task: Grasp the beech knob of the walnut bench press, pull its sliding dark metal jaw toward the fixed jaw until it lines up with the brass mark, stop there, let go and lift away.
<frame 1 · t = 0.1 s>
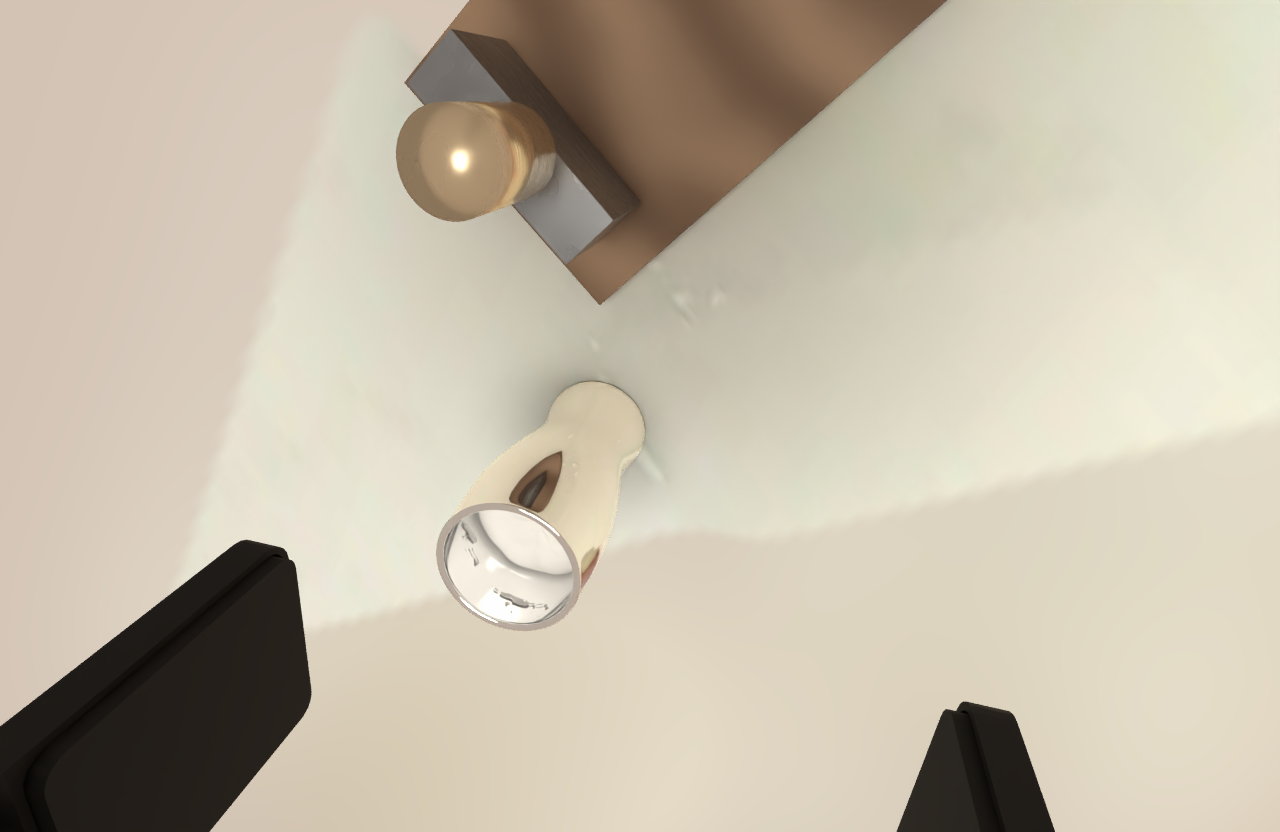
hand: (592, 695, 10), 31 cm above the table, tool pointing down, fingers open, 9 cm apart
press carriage: (510, 152, 30), point 8 cm above the table, slide at 0.0 cm
beer glass: (598, 425, 44), on the table
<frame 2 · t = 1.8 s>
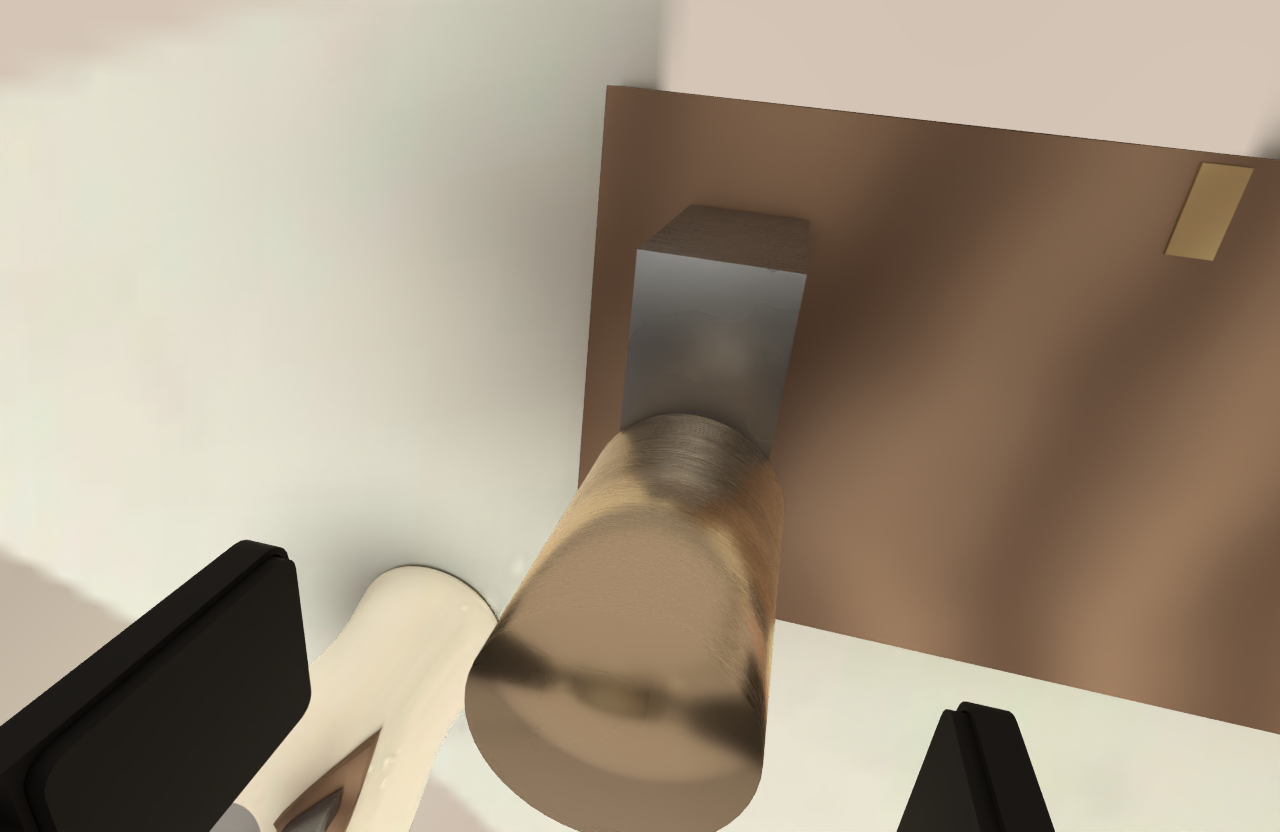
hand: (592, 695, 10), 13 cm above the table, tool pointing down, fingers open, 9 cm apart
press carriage: (684, 503, 15), point 8 cm above the table, slide at 0.0 cm
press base: (1081, 434, 20), on the table
beer glass: (436, 623, 29), on the table
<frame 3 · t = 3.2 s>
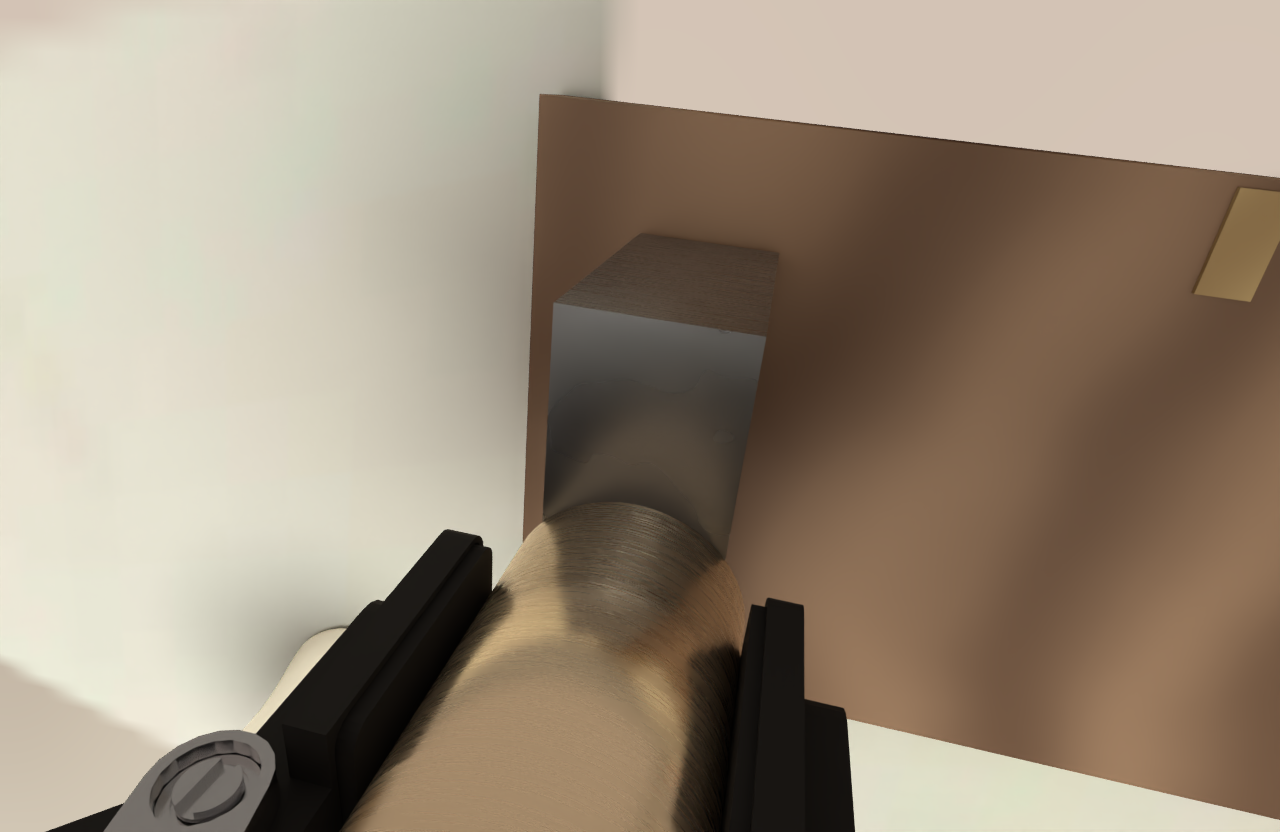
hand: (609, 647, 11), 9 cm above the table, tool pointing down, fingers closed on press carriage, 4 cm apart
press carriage: (624, 606, 12), point 8 cm above the table, slide at 0.0 cm, touching gripper
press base: (1091, 491, 17), on the table
beer glass: (375, 689, 26), on the table
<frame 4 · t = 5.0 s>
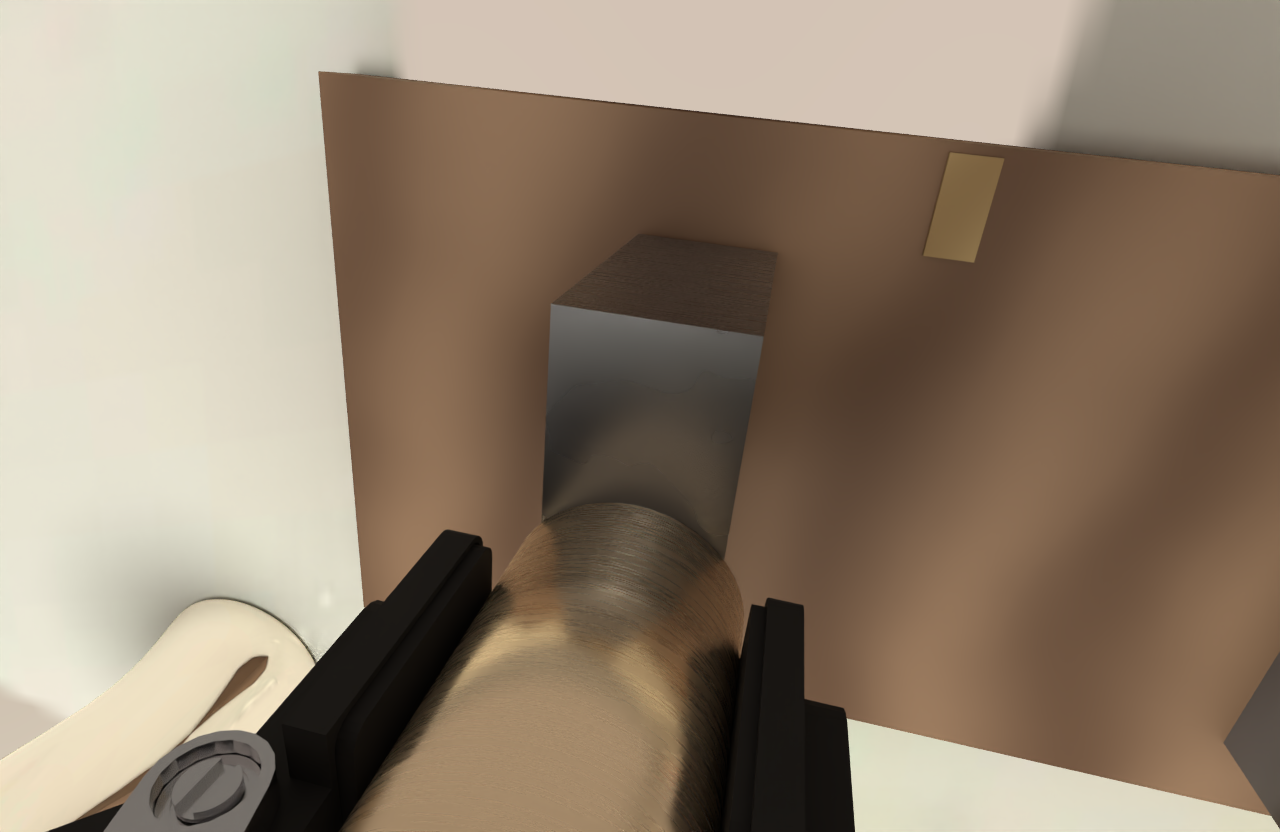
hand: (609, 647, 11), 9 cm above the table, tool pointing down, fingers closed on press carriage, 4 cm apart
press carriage: (623, 606, 12), point 8 cm above the table, slide at 5.1 cm, touching gripper
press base: (879, 453, 18), on the table
beer glass: (252, 659, 27), on the table
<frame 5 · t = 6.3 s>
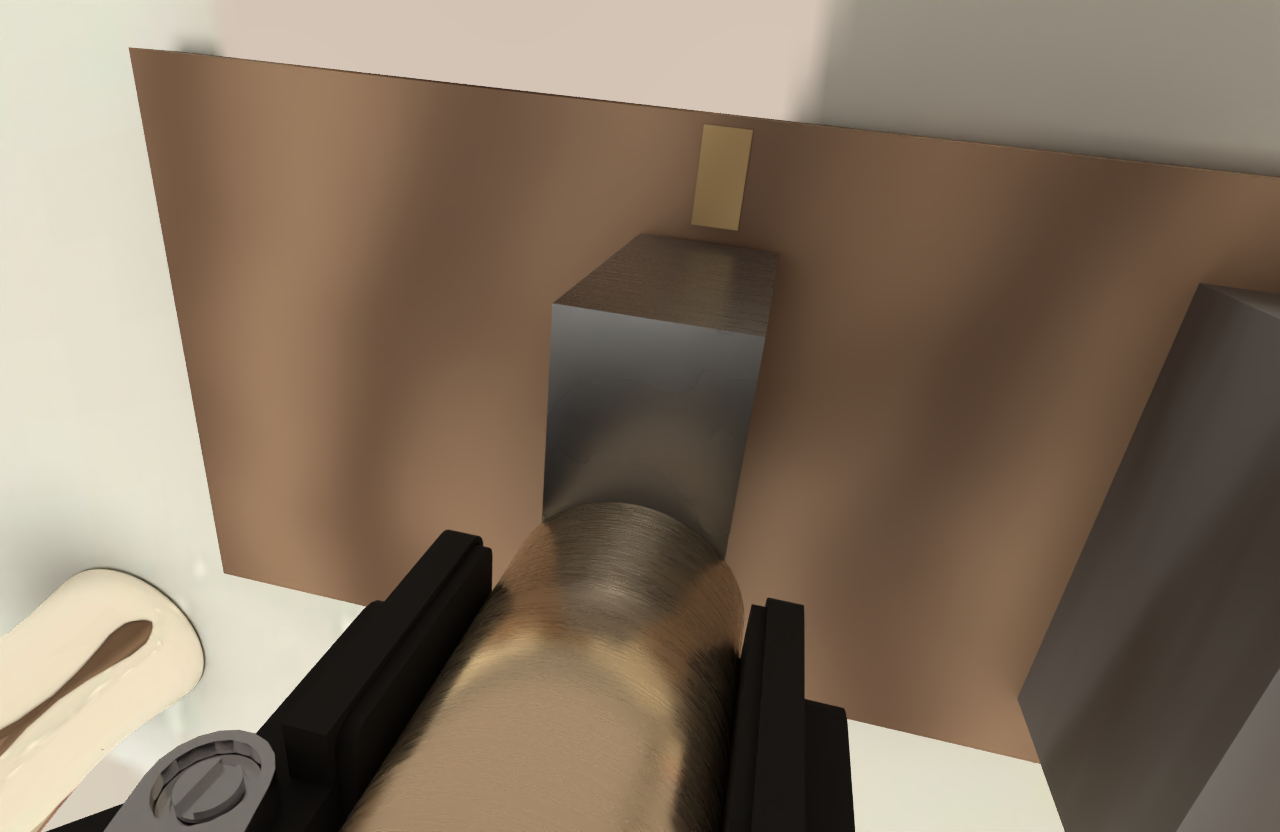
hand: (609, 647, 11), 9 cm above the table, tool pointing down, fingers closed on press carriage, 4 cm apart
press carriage: (624, 606, 12), point 8 cm above the table, slide at 9.9 cm, touching gripper
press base: (692, 420, 19), on the table
beer glass: (139, 629, 27), on the table
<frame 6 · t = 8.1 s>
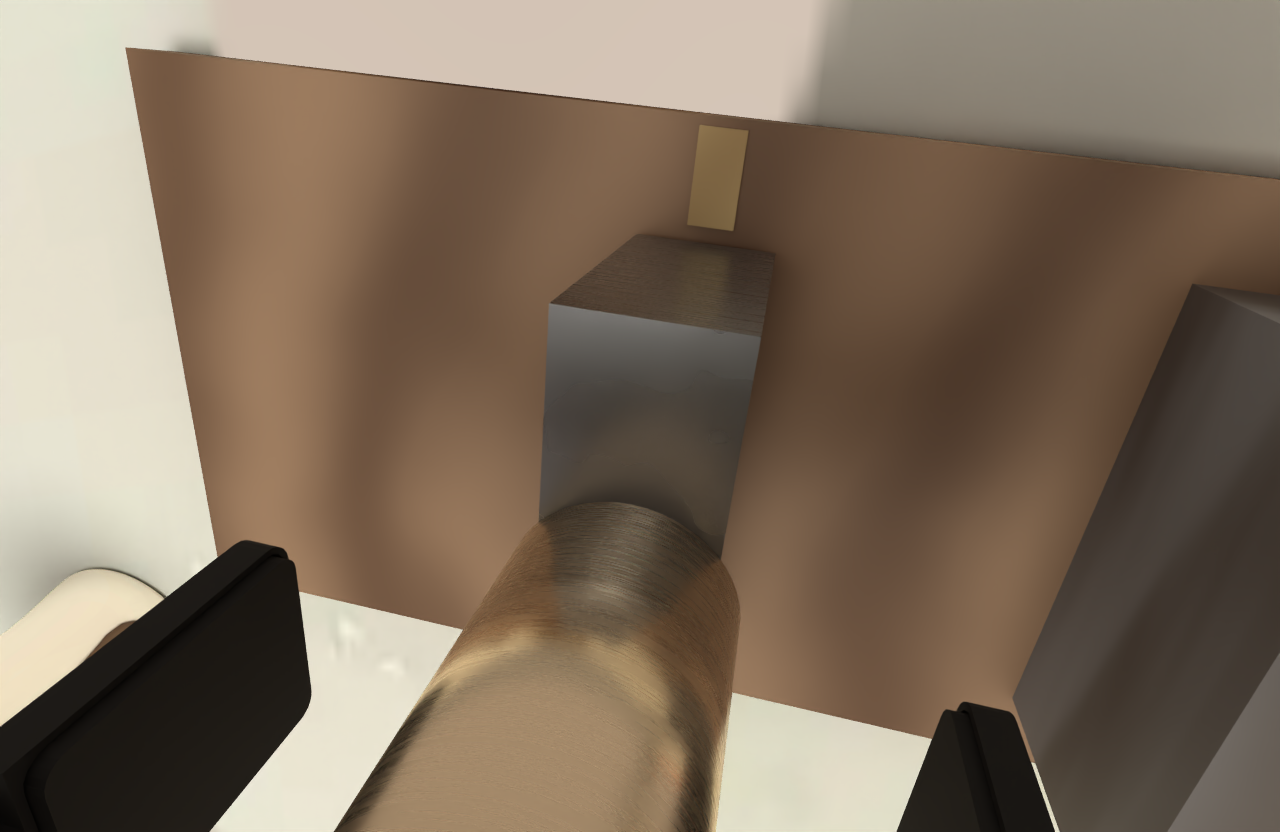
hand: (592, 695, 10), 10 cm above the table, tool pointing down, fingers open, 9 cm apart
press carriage: (620, 605, 12), point 8 cm above the table, slide at 10.0 cm
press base: (688, 420, 19), on the table
beer glass: (135, 629, 27), on the table
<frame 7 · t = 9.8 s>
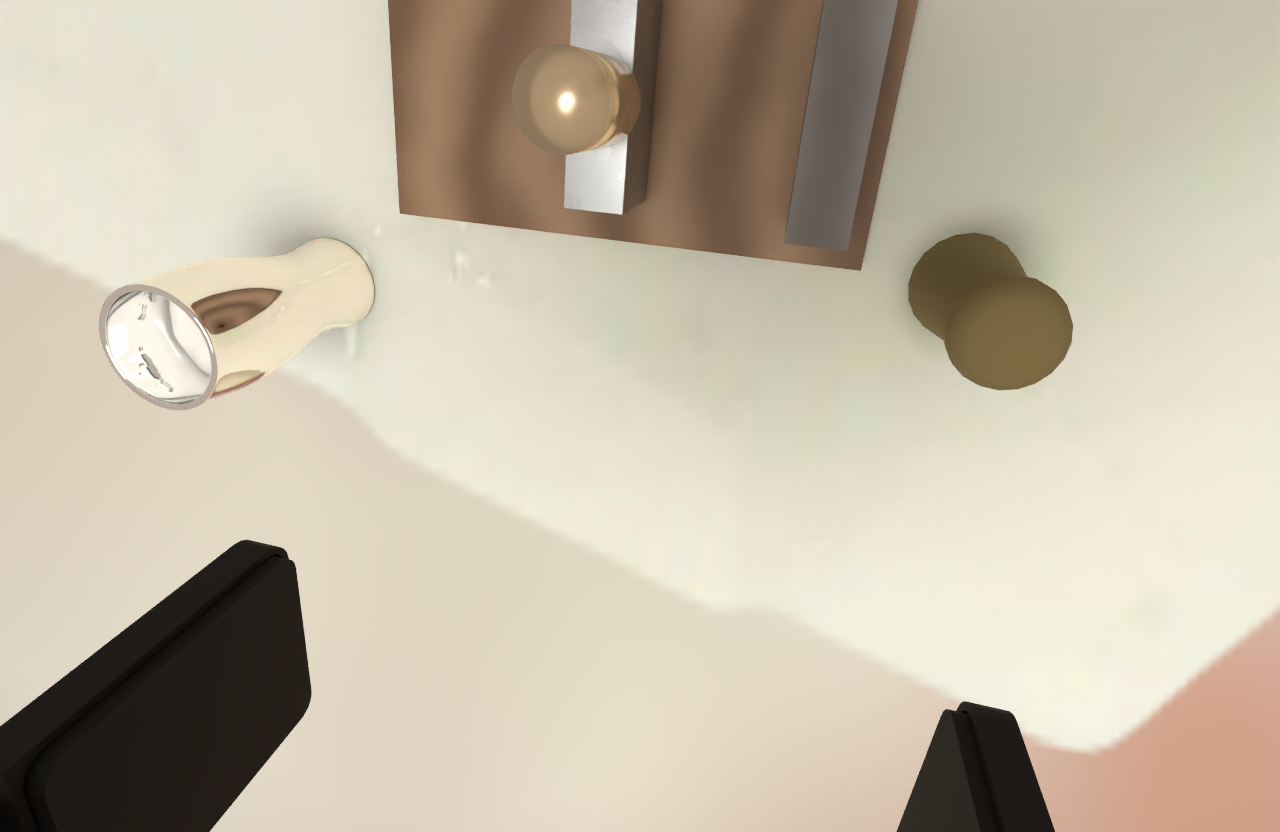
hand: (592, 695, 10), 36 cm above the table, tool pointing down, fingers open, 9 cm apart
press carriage: (598, 101, 33), point 8 cm above the table, slide at 10.0 cm
olive brown pawn: (963, 286, 41), on the table
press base: (634, 102, 40), on the table
beer glass: (336, 282, 49), on the table
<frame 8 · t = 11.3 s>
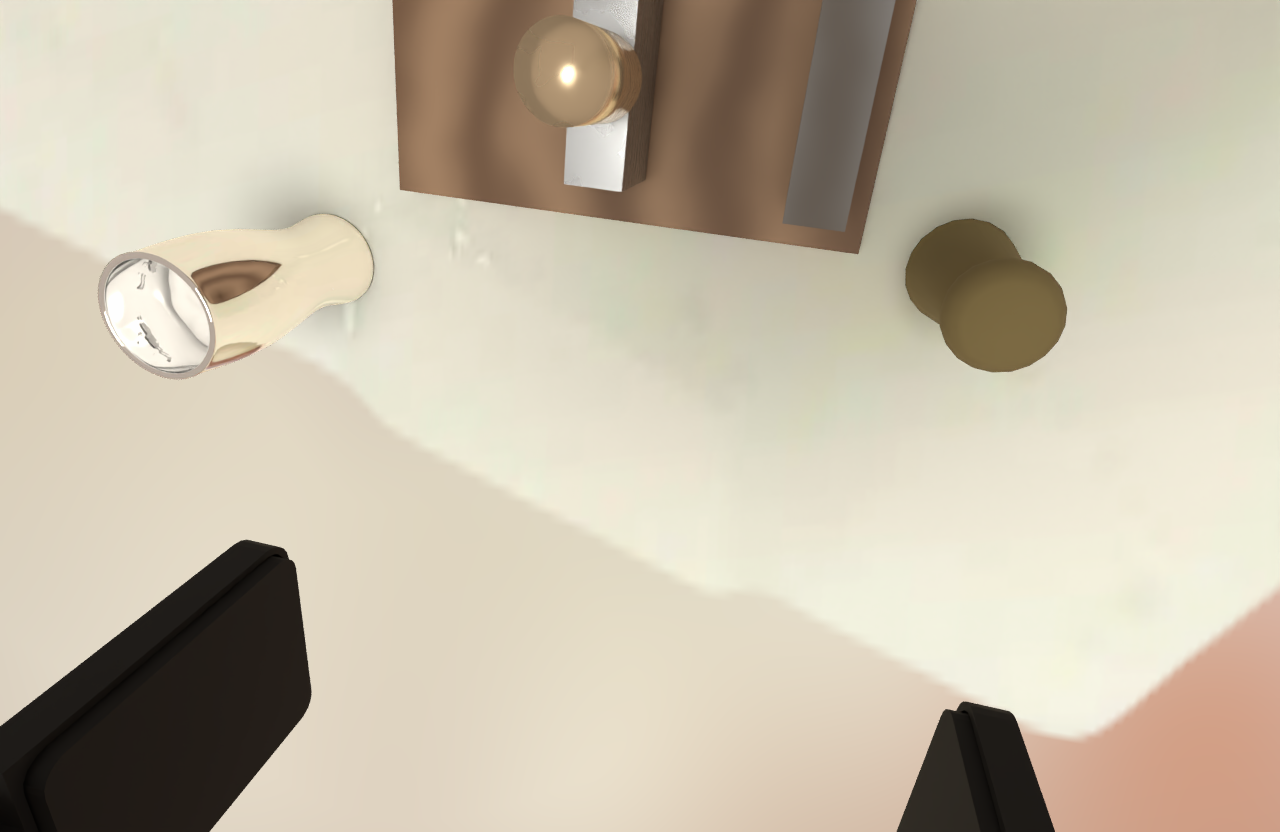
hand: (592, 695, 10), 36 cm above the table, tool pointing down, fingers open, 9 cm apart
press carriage: (600, 77, 33), point 8 cm above the table, slide at 10.0 cm
olive brown pawn: (959, 271, 41), on the table
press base: (635, 82, 40), on the table
beer glass: (335, 258, 49), on the table
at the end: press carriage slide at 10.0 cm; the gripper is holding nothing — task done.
